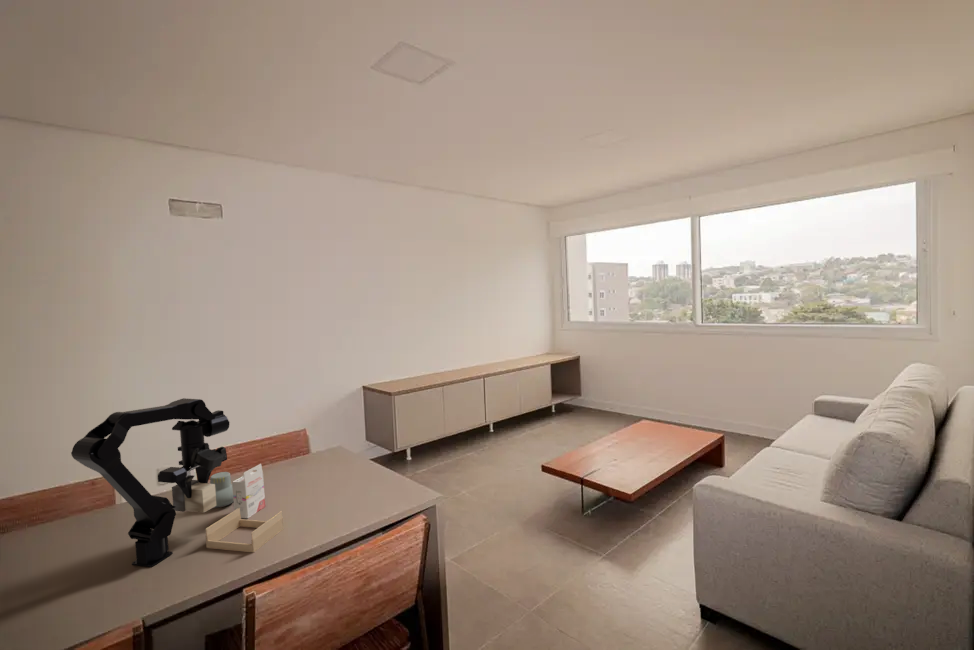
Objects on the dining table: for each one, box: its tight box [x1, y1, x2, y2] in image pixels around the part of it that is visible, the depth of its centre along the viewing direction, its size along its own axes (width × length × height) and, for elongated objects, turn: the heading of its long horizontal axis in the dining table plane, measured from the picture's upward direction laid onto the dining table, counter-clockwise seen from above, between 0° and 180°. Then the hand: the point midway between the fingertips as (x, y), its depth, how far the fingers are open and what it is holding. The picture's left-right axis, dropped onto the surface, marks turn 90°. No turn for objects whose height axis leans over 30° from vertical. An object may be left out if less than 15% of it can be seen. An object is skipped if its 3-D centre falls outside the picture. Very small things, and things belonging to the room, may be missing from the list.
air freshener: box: [209, 471, 234, 509], centre depth 155 cm, size 11×8×10 cm
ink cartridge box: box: [231, 463, 266, 519], centre depth 148 cm, size 9×5×15 cm, turn 168°
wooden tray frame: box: [205, 508, 285, 553], centre depth 132 cm, size 13×15×6 cm
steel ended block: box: [171, 479, 216, 513], centre depth 135 cm, size 10×6×7 cm, turn 76°
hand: (196, 494), depth 135 cm, fingers closed on steel ended block, 4 cm apart
